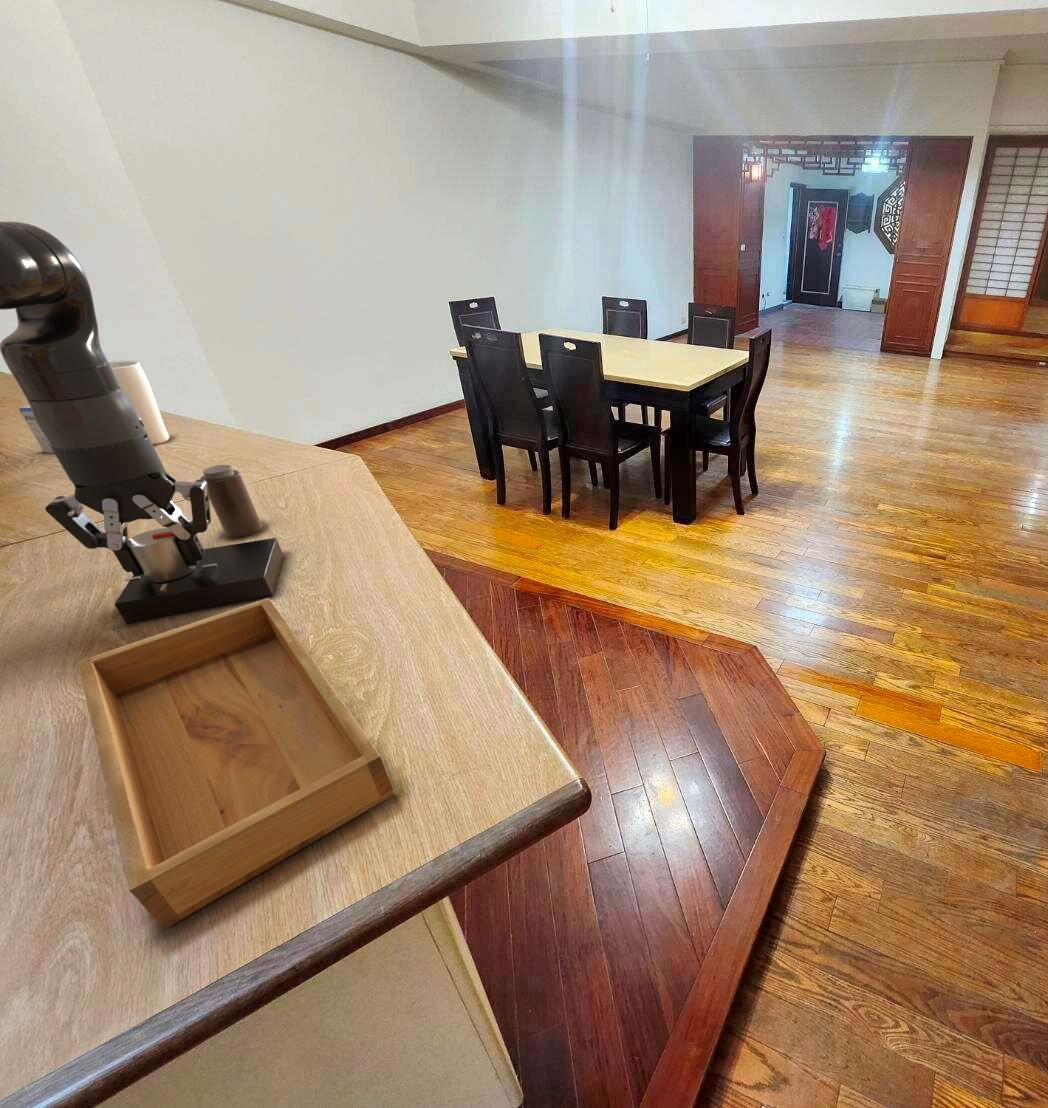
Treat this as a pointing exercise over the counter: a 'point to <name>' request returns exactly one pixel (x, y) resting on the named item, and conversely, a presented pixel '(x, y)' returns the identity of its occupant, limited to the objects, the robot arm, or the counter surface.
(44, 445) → the medicine box
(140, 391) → the white tall cup
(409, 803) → the counter surface
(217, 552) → the stove panel
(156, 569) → the stove knob
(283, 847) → the tray
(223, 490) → the pepper mill
